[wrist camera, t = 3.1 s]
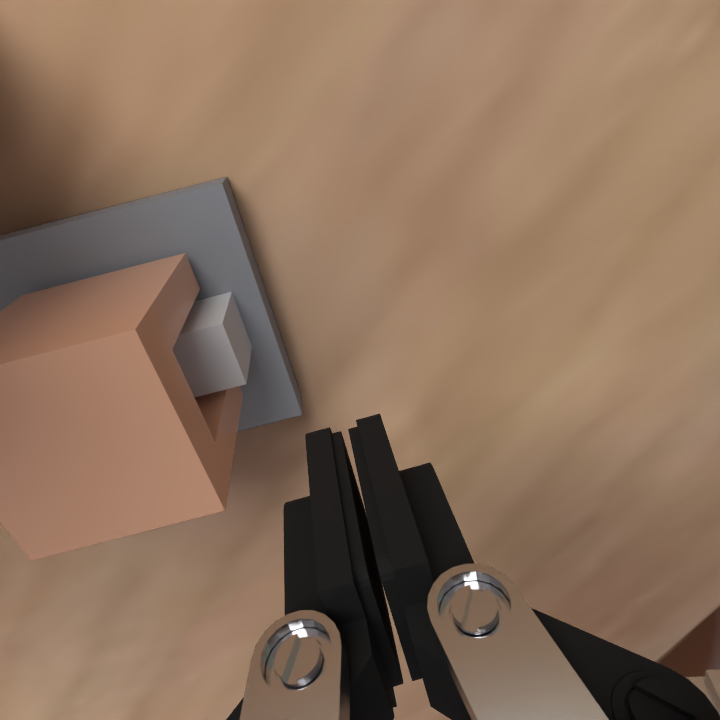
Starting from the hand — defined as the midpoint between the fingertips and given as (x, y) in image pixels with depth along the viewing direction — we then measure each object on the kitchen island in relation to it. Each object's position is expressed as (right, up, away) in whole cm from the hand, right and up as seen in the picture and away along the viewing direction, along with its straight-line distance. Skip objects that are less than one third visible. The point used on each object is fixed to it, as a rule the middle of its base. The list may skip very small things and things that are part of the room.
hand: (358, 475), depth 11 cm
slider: (-8, +3, +8) cm, 12 cm away
